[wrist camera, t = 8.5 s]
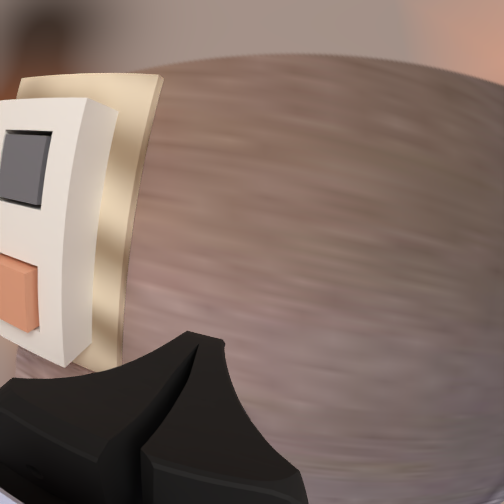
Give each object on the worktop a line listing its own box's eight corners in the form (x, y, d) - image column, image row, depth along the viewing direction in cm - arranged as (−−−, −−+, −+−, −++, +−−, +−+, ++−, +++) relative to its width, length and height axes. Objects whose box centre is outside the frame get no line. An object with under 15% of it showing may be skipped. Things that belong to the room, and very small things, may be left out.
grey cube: (72, 200, 19) (36, 204, 15) (33, 192, 19) (-3, 196, 15) (82, 142, 18) (46, 136, 14) (42, 138, 18) (5, 134, 14)
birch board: (121, 373, 23) (116, 379, 22) (8, 324, 23) (1, 328, 22) (163, 79, 18) (159, 74, 17) (29, 80, 18) (21, 78, 18)
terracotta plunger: (60, 311, 20) (27, 332, 16) (23, 296, 20) (-10, 313, 16) (60, 259, 19) (24, 273, 15) (22, 246, 19) (-14, 258, 15)
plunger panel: (91, 342, 21) (64, 367, 17) (14, 309, 21) (-16, 326, 18) (118, 111, 18) (87, 97, 14) (30, 109, 18) (-5, 101, 14)
